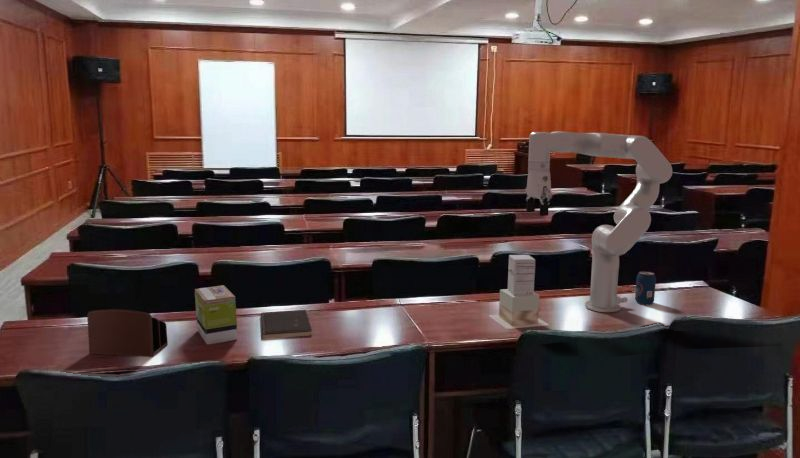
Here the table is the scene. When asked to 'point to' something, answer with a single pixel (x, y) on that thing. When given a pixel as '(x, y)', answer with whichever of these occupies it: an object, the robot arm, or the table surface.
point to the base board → (508, 326)
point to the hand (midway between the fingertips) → (537, 213)
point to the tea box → (216, 314)
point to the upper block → (519, 301)
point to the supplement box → (521, 274)
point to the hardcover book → (285, 324)
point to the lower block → (518, 316)
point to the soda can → (645, 287)
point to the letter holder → (125, 333)
